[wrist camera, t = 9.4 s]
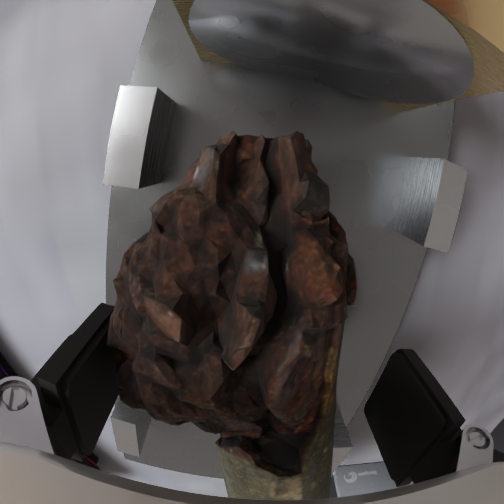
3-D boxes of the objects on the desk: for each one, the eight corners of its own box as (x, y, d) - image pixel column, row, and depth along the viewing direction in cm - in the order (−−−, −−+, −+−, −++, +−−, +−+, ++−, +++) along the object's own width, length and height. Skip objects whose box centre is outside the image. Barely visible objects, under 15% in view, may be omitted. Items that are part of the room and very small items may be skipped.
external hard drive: (336, 456, 18) (348, 498, 14) (477, 442, 20) (492, 465, 16) (274, 515, 21) (276, 546, 17) (410, 503, 23) (418, 524, 19)
